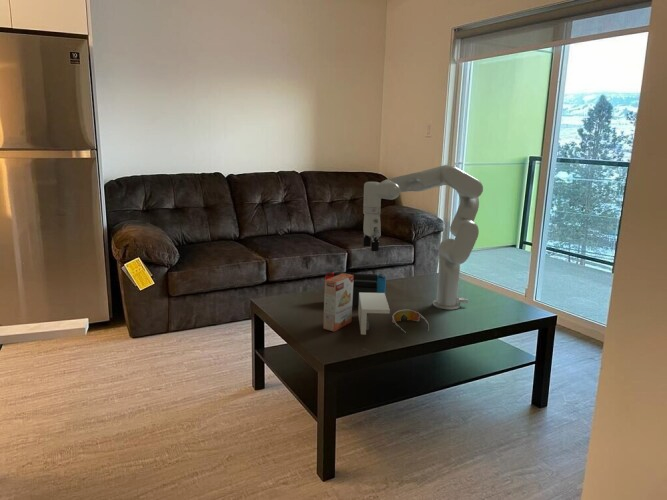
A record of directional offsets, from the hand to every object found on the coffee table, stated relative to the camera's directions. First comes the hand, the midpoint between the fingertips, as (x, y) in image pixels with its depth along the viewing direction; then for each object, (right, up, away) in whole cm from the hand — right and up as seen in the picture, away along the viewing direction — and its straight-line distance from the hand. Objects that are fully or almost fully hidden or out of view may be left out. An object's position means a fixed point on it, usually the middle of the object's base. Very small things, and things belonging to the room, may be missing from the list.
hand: (370, 248), depth 234 cm
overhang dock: (-1, -32, -14) cm, 35 cm away
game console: (-7, -26, +12) cm, 29 cm away
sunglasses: (+15, -33, -14) cm, 39 cm away
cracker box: (-15, -32, -16) cm, 39 cm away
